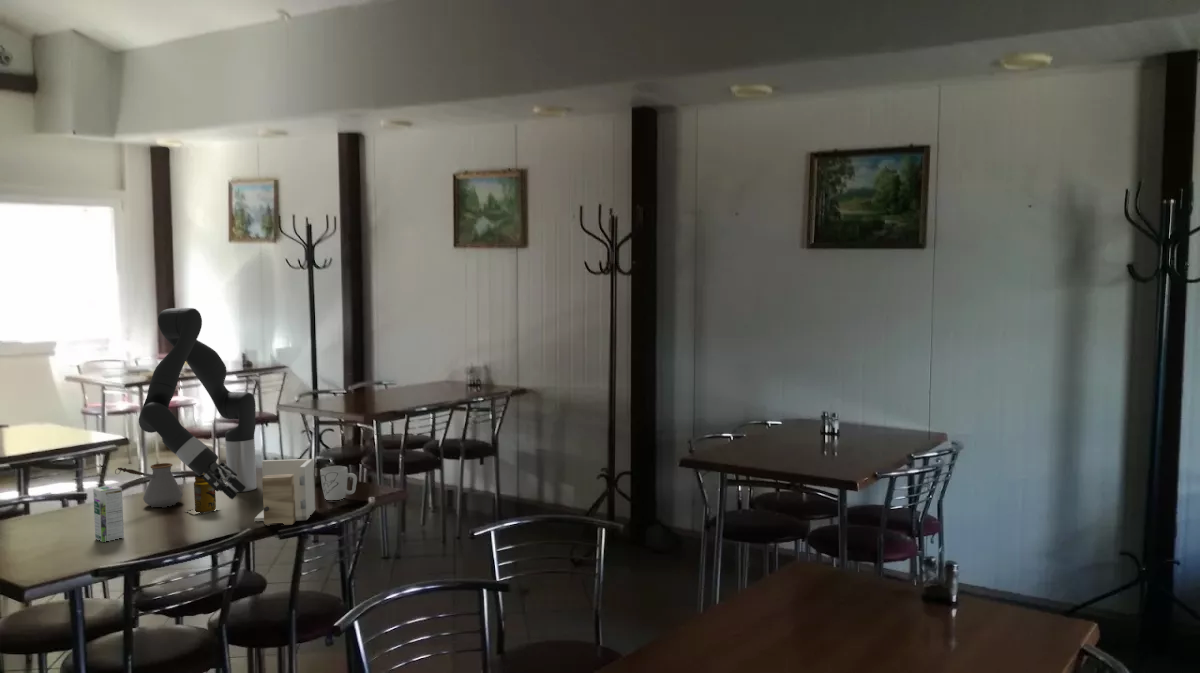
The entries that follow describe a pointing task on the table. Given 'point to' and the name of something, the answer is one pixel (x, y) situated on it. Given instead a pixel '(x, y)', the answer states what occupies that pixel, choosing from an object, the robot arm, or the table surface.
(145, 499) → the coffee pot
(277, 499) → the door
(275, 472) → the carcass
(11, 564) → the table surface
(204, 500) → the condiment
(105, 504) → the syrup box
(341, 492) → the mug
